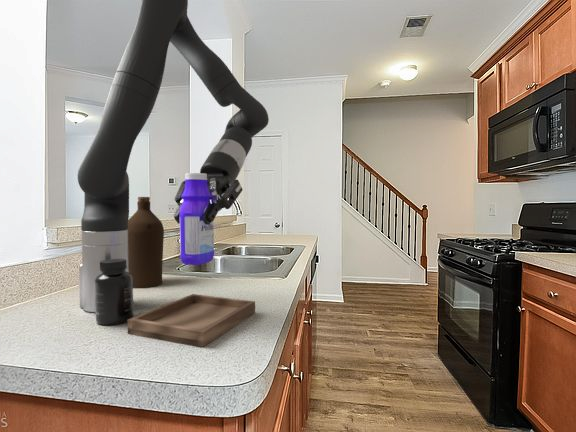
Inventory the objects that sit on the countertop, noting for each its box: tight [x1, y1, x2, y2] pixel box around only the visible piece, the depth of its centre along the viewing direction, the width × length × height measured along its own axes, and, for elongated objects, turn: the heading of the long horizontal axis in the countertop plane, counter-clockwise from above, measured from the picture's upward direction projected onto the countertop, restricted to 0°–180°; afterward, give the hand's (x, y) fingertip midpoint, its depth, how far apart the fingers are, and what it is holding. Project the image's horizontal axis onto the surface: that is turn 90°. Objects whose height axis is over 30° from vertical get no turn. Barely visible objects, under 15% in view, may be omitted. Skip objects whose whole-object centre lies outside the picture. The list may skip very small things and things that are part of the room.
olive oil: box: [128, 196, 165, 289], centre depth 99 cm, size 11×11×25 cm
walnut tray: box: [127, 293, 256, 348], centre depth 69 cm, size 16×19×2 cm
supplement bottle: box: [94, 259, 135, 326], centre depth 69 cm, size 7×7×12 cm
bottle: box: [179, 172, 215, 266], centre depth 68 cm, size 7×6×17 cm
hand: (191, 221), depth 66 cm, fingers closed on bottle, 5 cm apart
